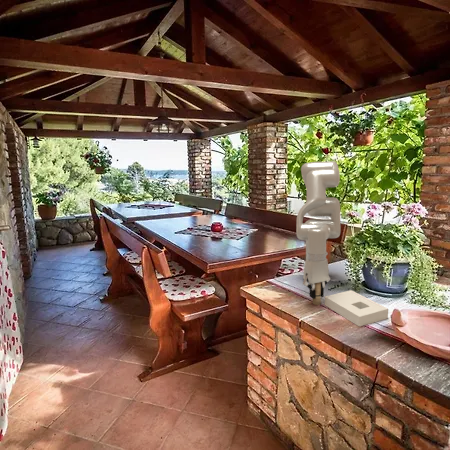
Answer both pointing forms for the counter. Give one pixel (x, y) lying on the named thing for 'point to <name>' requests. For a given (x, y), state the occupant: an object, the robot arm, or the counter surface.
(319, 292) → the beech peg
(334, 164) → the robot arm
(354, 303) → the peg board
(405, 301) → the counter surface
